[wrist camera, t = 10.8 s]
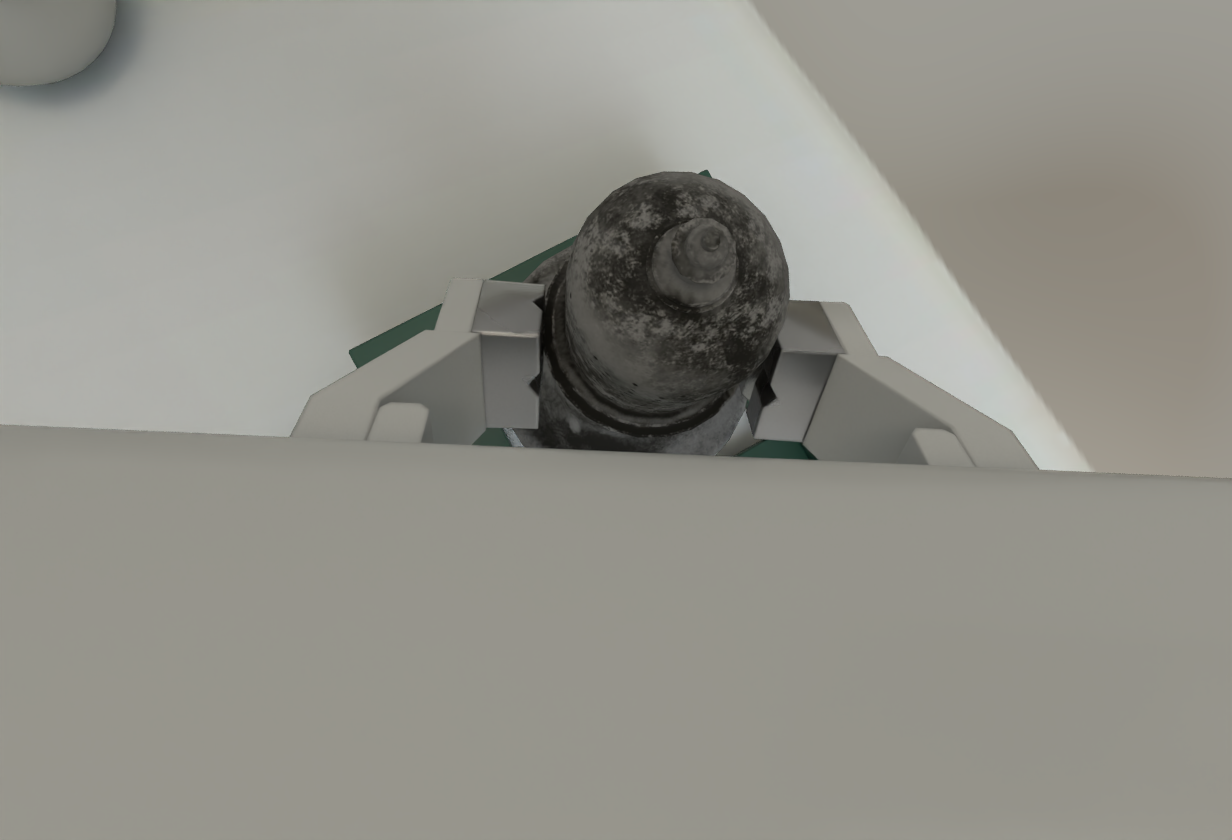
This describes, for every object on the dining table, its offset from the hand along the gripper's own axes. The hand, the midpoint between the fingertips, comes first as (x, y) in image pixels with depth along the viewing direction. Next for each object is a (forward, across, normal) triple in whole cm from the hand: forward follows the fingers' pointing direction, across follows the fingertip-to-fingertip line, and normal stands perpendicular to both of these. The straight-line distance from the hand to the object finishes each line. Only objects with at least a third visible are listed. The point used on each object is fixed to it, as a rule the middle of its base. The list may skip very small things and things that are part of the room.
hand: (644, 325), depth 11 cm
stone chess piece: (+5, 0, +5) cm, 7 cm away
